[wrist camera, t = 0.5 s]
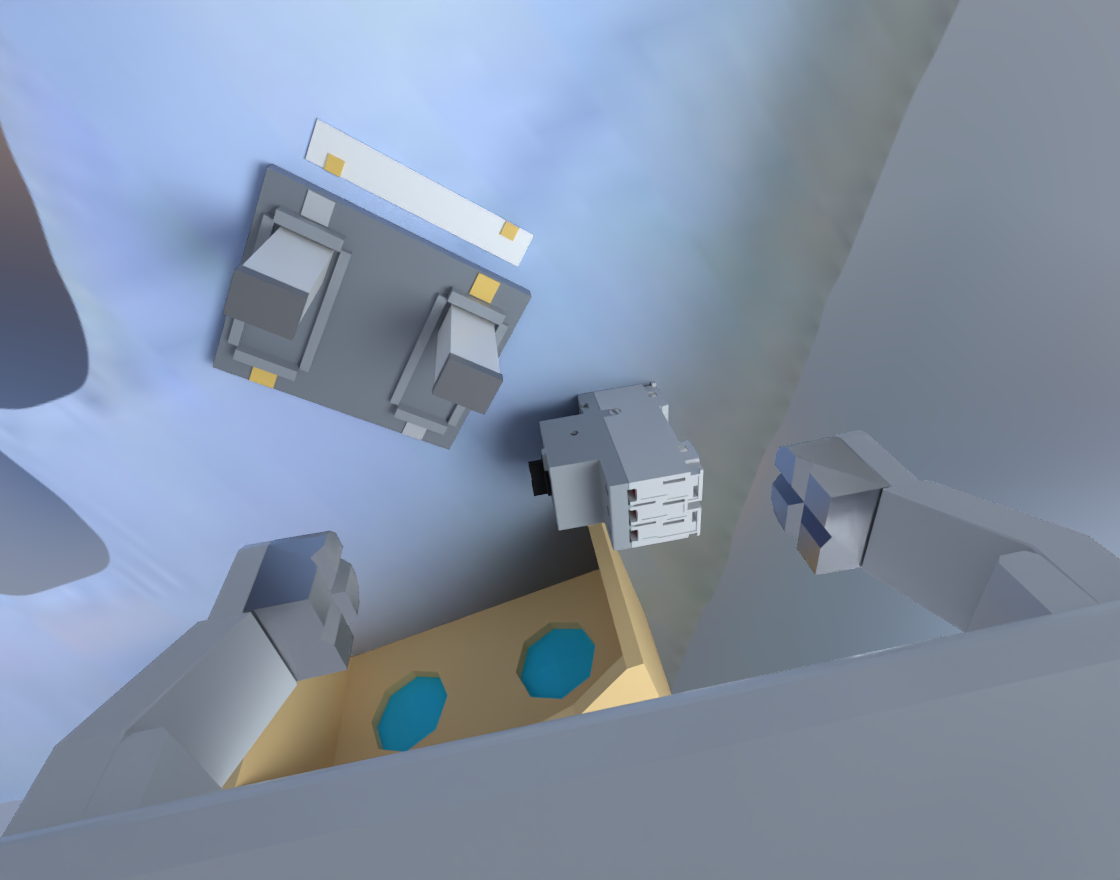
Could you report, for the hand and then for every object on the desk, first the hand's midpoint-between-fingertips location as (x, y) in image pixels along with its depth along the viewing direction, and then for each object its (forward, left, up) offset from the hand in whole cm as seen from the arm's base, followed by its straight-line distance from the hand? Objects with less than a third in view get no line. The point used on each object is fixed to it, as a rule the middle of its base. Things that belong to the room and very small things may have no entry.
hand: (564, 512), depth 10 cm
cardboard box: (+52, +14, -42) cm, 69 cm away
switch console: (+14, -5, -42) cm, 45 cm away
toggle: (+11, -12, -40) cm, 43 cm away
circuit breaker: (+21, +17, -42) cm, 50 cm away
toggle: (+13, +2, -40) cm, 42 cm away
